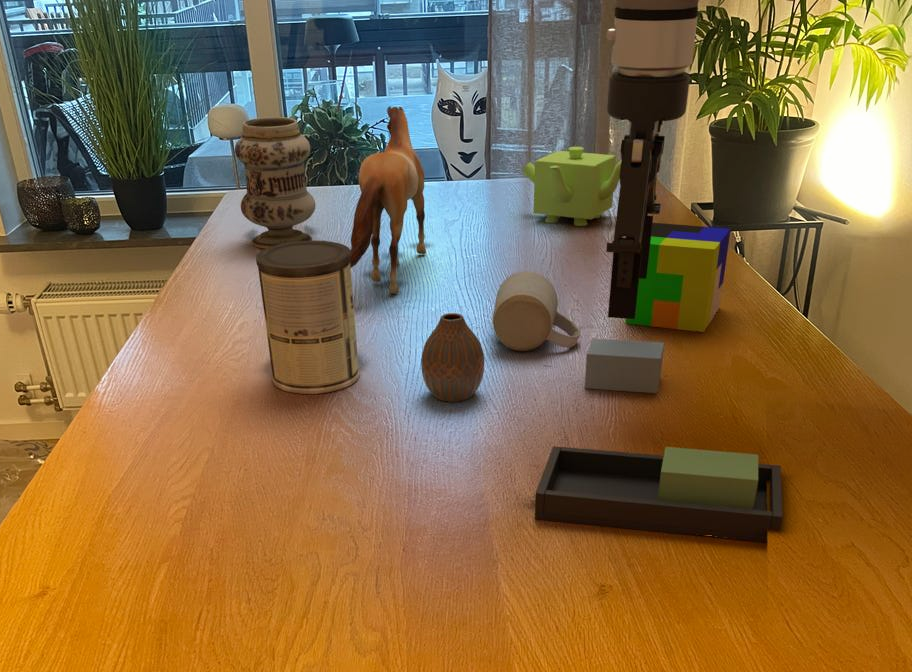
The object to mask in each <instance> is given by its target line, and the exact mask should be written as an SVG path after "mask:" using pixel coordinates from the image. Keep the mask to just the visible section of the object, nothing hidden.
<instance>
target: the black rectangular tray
mask: <svg viewBox="0 0 912 672" xmlns="http://www.w3.org/2000/svg"><path fill="white" fill-rule="evenodd" d="M663 457H664V454H663V455H661V454H650V453H638V452H628V451H627V452H625V451H615V450H603V449H590V448H579V447H568V446H567V447H566V446H552V448H551V452H550V453H549V456H548V459H547V462H546V464H545V467H544V470H543V473H542V475H541V478H540V480H539V483H538V486H537V489H536V491H535V495H534V496H535V497H534V498H535V499H534V519H535V520H539V521H541V520H542V521H551V522H559V523H560V522H561V523H569V524H570V523H571V524H580V525H589V526H600V527H610V528H620V529H628V530H629V529H630V530H638V531H639V530H640V531H649V532H658V531H659V532H660V533H667V532H668V533H669V534H677V533H680V534H679V535H687V534H695V535H694V536H697V534H698V535H712V536H717V537H727V538H732V539H731V540H736V539H741V540H740V541H746V540H750V541H749V542H756V541H760V542H759V543H766V542H767V543H768V541H769V540H768V530H777V531H779V530H781V529H782V523H783V518H784V513H783V512H784V511H783V486H782V482H783V481H782V465H779V464H778V465H777V464H768V463H758V485H757V491H756V496H755V502H754V507H753V510H751V509H740V508H730V507H719V506H709V505H698V504H688V503H677V502H667V501H658V492H659V484H660V475H661V468H662V463H663ZM768 482H769V510H768ZM668 533H667V534H668ZM717 537H716V538H717ZM733 538H735V539H733Z"/></svg>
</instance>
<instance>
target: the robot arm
mask: <svg viewBox="0 0 912 672" xmlns="http://www.w3.org/2000/svg"><path fill="white" fill-rule="evenodd" d="M699 1H700V0H615V8H614V23H613V24H614V27H613V28H608V29H607V32H606V34H605V35H606V36H605V37H606V39H607V40H608V41H609V42H610V41H612V42H613V41H614V44H613V45H612V47H611V60H610V61H611V65H612V66H613V67H614V68H616V69H617V70H616V71H613V72H612V73H611V75H610V76H609V79H608V92H607V104H606V112H607V114H608V116H610V117H611V118H612V119H616V120H619V121H629V122H630V129H629V134H624V137H623V139H622V140H621V144H620V161H621V168H620V175H619V177H620V179H619V185H620V186H619V195H618V201H617V209H616V216H615V217H616V218H615V226H614V234H613V239H612V242H606V250H605V252H606V253H612V264H611V277H610V285H609V286H610V287H609V299H608V300H609V301H608V312H607V318H612V319H625V320H626V319H635V314H636V305H637V295H638V285H639V278H640V279H646V278H647V270H648V261H649V251H650V242H651V233H652V223H654V215H659V214H660V213H661V206H662V204H661V203H660V202H659V203H657V202H656V200H657V194H656V193H657V191H656V190H657V180H658V173H659V172H660V168H661V162H662V155H663V154H664V148H665V139H666V136H665V135H661V130H662V125H663V122H670V121H674V120H678V119H680V118H682V117H683V116H684V115H685V114H686V111H687V104H688V96H689V88H690V81H691V78H690V76H689V73H688V72H687V71H686V68H688V67H690V66H691V65H692V64H693V59H694V51H695V44H696V43H695V42H696V34H697V26H698V18H699V16H698V14H699V13H698V11H699ZM787 1H789V2H794V1H795V0H787Z"/></svg>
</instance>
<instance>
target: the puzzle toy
mask: <svg viewBox="0 0 912 672" xmlns="http://www.w3.org/2000/svg"><path fill="white" fill-rule="evenodd" d="M730 237H731V228H730V227H729V228H727V227H714V226H704V225H703V226H702V225H691V224H690V225H688V224H676V223H663V222H653V223H652V233H651V242H650V251H649V261H648V270H647V278H646V279H640V278H639V285H638V295H637V305H636V314H635V319H625V324H626V325H636V326H646V327H654V328H663V329H671V330H679V331H680V330H681V331H688V332H689V331H691V332H697V331H698V332H699V333H705V331H706V330H707V328H708V327H709V325H710V323H711V322H712V320H713V319H714V317H715V316H716V314H717V313H718V312H719V310H720V308H721V301H722V293H723V287H724V280H725V272H726V265H727V259H728V251H729V244H730ZM718 309H719V310H718ZM716 312H717V313H716ZM714 315H715V316H714ZM705 329H706V330H705Z"/></svg>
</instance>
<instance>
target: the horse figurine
mask: <svg viewBox="0 0 912 672" xmlns="http://www.w3.org/2000/svg"><path fill="white" fill-rule="evenodd" d="M386 114H387V115H388V118H389V120H388V123H387V124H386V129H387V130H388V133H389V140H388V142H387V145H386V146H385V148H384V150H383V151H384V152H375V153H371V154H370V155H368V156H366V158H364V160H363V161H362V162H361V165H360V168H359V173H358V184H359V189H360V196H359V198H358V201H357V203H356V206H355V211H354V215H353V225H352V231H351V236H350V245H351V246H350V247H351V248H350V250H351V258H350V267H351V269H352V268H353V267H355V266H356V265H357V264H358V262H359V261H360V260H361V259H362V257H363V256H364V255H365V254H366V252H367V251H368V249H369V247H370V245H371V249H372V260H371V264H372V270H371V275H370V280H371V281H373V282H375V283H380V282H381V281H382V277H381V276H382V275H381V270H380V268H379V267H380V262H381V261H380V256H379V255H380V254H379V247H380V244H381V238H380V236H381V235H380V234H381V221H382V214H383V211H384V210H385V212H386V215H388V217H389V230H390V237H391V241H390V244H389V248H388V253H389V257H390V262H389V264H390V271H389V276H388V280H389V282H390V283H389V284H388V293H390V294H393V295H394V294H395V295H397V294H399V293H400V289H399V284H398V282H397V280H398V277H397V276H398V275H397V266H396V265H398V266H399V265H400V261H399V256H398V254H399V242H400V240H401V237H402V233H403V228H404V220H405V219H404V218H405V214H406V212H407V210H408V201H409V200H411V201H412V203H413V206H414V210H415V212H416V213H415V215H416V221H417V226H418V234H417V238H418V243H417V245H416V253H417V254H418V255H426V254H427V249H426V244H425V237H426V235H425V226H424V225H425V219H426V213H425V197H424V190H425V172H424V171H425V170H424V169H423V166H422V163H421V160H420V158H419V156H418V155H417V152H416V151H415V149H414V148H413V144H412V142H411V138H410V137H411V135H410V131H409V130H410V129H409V123H408V118H407V116H406V114H405V111H404V109H403V107H402V106H399V107H398V106H393V107H391V106H388V107H387V109H386Z"/></svg>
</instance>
